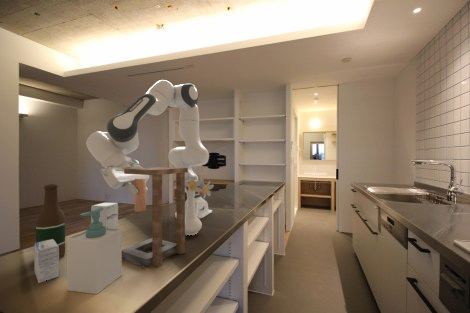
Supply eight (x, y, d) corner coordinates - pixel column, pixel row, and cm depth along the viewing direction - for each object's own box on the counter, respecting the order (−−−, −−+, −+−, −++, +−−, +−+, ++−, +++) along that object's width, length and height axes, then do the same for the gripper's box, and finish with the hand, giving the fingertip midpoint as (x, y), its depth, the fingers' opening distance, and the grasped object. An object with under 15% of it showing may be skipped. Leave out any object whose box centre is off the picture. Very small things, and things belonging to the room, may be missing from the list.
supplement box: (105, 236, 89) (105, 206, 90) (90, 235, 91) (90, 205, 91) (118, 230, 97) (118, 202, 97) (104, 229, 98) (104, 202, 98)
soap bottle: (65, 291, 53) (65, 213, 53) (95, 272, 61) (95, 205, 61) (96, 295, 51) (96, 214, 51) (122, 275, 60) (122, 206, 60)
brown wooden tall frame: (156, 242, 83) (155, 167, 83) (188, 251, 75) (187, 168, 75) (120, 258, 70) (119, 168, 70) (154, 270, 62) (153, 170, 62)
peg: (141, 208, 85) (141, 178, 85) (148, 209, 83) (148, 178, 83) (132, 210, 81) (132, 178, 81) (139, 212, 79) (139, 179, 79)
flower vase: (206, 241, 84) (206, 177, 84) (165, 236, 89) (165, 176, 90) (218, 230, 97) (218, 174, 97) (181, 226, 102) (181, 173, 102)
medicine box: (59, 277, 59) (59, 245, 59) (37, 284, 56) (37, 250, 56) (54, 267, 64) (54, 238, 64) (33, 273, 61) (33, 242, 61)
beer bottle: (41, 265, 65) (41, 186, 66) (30, 259, 69) (30, 185, 69) (70, 255, 72) (70, 183, 72) (59, 250, 76) (59, 182, 76)
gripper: (103, 160, 73) (129, 190, 71) (139, 160, 93) (160, 183, 91) (91, 173, 74) (117, 203, 72) (130, 170, 94) (150, 193, 92)
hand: (141, 191), depth 82 cm, fingers closed on peg, 4 cm apart
